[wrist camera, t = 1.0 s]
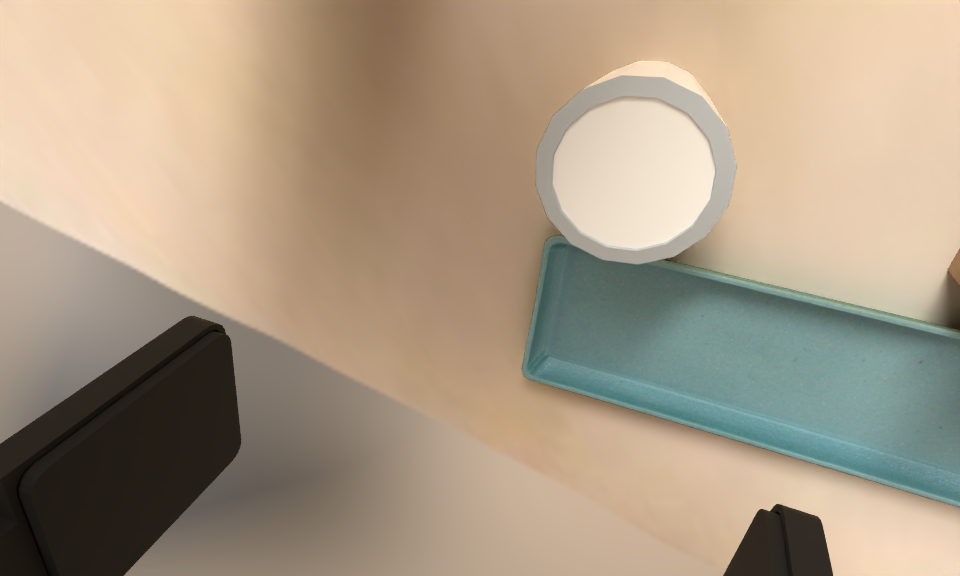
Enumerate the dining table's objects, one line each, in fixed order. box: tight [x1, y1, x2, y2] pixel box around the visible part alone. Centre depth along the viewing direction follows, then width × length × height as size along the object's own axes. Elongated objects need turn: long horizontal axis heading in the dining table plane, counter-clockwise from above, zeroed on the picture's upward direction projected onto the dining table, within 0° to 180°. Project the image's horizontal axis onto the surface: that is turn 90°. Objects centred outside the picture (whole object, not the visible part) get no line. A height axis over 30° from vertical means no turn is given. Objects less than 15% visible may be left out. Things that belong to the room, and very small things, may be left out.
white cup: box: [536, 60, 737, 264], centre depth 24 cm, size 7×7×7 cm
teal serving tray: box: [522, 235, 960, 507], centre depth 29 cm, size 26×9×2 cm, turn 83°
